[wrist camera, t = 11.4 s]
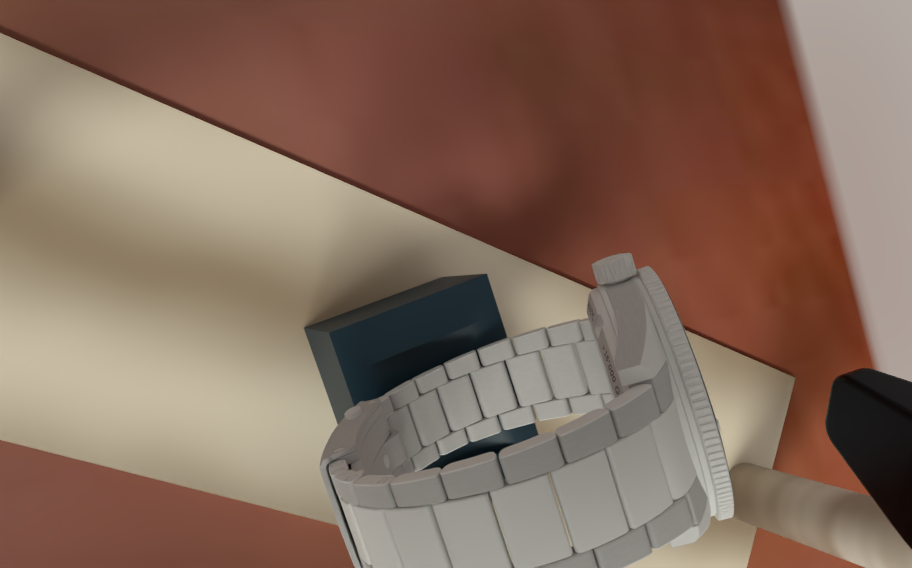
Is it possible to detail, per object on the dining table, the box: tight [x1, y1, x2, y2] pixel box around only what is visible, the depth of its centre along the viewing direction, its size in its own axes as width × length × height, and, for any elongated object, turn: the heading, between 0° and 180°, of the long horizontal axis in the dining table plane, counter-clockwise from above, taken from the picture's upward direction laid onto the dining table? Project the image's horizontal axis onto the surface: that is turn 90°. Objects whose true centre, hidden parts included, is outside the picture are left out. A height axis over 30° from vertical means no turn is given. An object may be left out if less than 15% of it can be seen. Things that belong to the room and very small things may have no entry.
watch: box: [304, 253, 734, 568], centre depth 16 cm, size 6×8×11 cm
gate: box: [0, 33, 912, 568], centre depth 17 cm, size 9×28×10 cm, turn 70°
